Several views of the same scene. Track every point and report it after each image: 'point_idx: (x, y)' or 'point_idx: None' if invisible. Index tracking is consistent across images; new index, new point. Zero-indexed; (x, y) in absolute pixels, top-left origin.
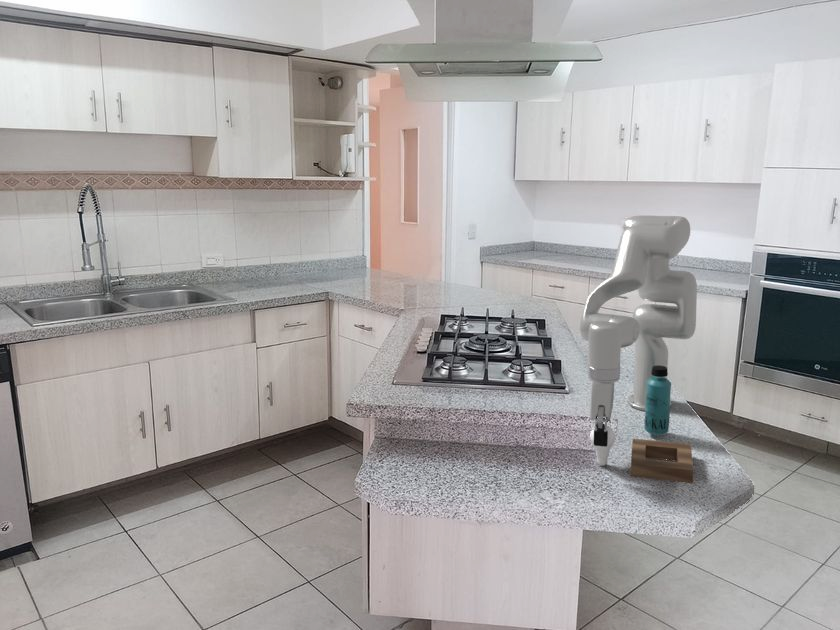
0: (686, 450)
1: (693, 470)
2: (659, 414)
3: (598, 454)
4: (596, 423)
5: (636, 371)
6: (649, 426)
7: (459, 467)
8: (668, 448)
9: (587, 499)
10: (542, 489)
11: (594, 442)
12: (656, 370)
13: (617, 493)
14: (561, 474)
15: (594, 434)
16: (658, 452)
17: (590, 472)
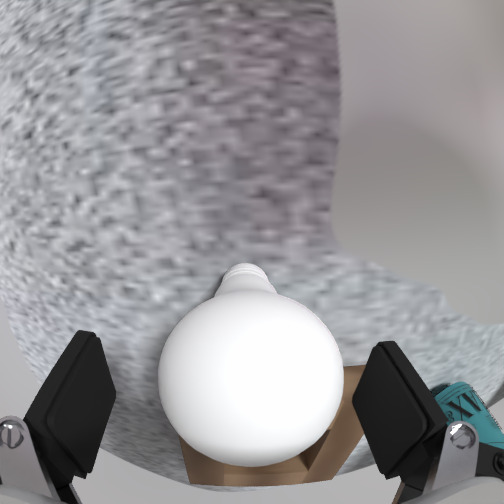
0: (296, 480)
1: (190, 482)
2: None
3: (217, 294)
4: (5, 481)
5: None
6: (444, 409)
7: None
8: (313, 459)
9: (6, 232)
10: (24, 77)
11: (73, 344)
12: None
13: (64, 319)
14: (126, 108)
15: (44, 389)
16: None
17: (169, 231)
